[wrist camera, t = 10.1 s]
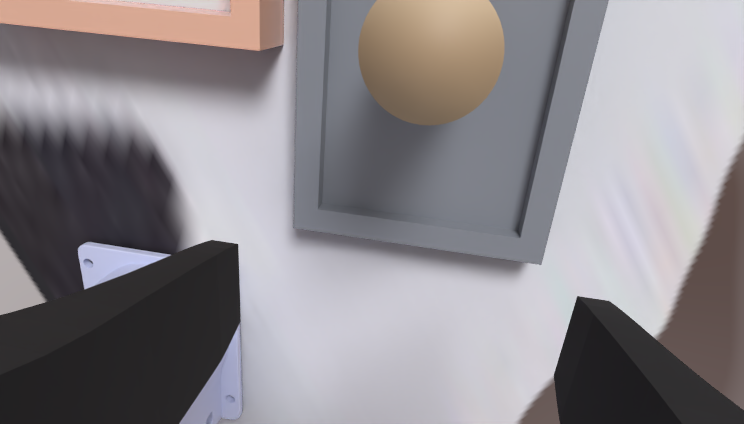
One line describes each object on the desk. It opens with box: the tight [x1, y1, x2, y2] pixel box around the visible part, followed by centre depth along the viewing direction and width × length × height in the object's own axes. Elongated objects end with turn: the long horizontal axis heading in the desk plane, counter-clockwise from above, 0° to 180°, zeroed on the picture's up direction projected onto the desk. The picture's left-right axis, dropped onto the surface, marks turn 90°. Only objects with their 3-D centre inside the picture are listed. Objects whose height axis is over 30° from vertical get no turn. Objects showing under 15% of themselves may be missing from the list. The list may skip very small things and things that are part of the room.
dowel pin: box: [358, 0, 504, 126], centre depth 14 cm, size 3×3×7 cm
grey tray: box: [293, 0, 609, 265], centre depth 17 cm, size 16×10×2 cm, turn 175°
